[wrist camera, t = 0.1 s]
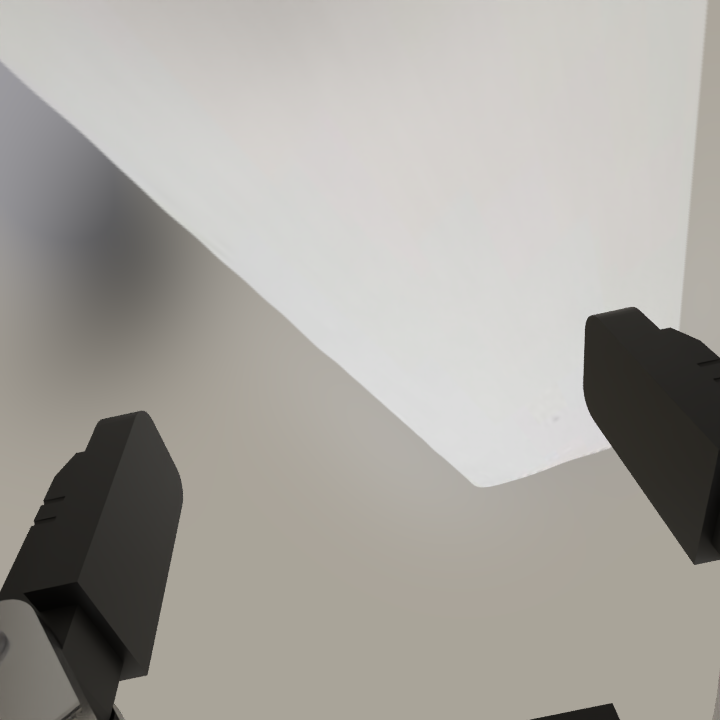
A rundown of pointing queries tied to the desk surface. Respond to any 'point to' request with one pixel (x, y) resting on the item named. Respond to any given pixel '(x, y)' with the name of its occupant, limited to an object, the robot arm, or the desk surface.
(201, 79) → the desk surface
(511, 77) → the desk surface
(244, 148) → the desk surface
